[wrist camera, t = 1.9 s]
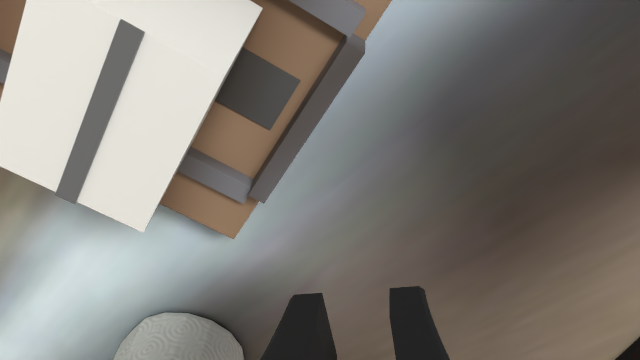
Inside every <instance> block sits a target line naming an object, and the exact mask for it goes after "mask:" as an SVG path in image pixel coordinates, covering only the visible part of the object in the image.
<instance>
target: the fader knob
mask: <svg viewBox="0 0 640 360" xmlns="http://www.w3.org/2000/svg"><path fill="white" fill-rule="evenodd" d="M262 9H263V8H262V7H260V6H259V5H257V4H255V3H254V2H252V1H250V0H26V4H25V8H24V12H23V16H22V20H21V23H20V27H19V31H18V35H17V39H16V43H15V47H14V50H13V54H12V58H11V62H10V66H9V70H8V73H7V77H6V81H5V85H4V89H3V93H2V97H1V100H0V166H1V167H3V168H5V169H7V170H9V171H12V172H14V173H16V174H18V175H20V176H22V177H24V178H27V179H29V180H31V181H33V182H35V183H37V184H40V185H42V186H44V187H46V188H48V189H50V190H52V191H55V192H56V194H55V195H56V196H58V197H60V198H63V199H65V200H67V201H69V202H71V203H73V204H75V203H76V202H78V203H80V204H83V205H85V206H87V207H89V208H91V209H93V210H95V211H98V212H100V213H102V214H104V215H106V216H108V217H111V218H113V219H115V220H117V221H119V222H121V223H123V224H126V225H128V226H130V227H132V228H134V229H136V230H138V231H141V232H144V230H145V228H146V227H147V225H148V223H149V221H150V219H151V217H152V216H153V214H154V212H155V210H156V208H157V206H158V205H159V203H160V201H161V199H162V197H163V195H164V194H165V192H166V190H167V188H168V186H169V184H170V183H171V181H172V179H173V177H174V175H175V173H176V172H177V170H178V168H179V166H180V164H181V163H182V161H183V159H184V157H185V155H186V153H187V152H188V150H189V148H190V146H191V144H192V142H193V141H194V139H195V137H196V135H197V133H198V131H199V129H200V127H201V125H202V123H203V122H204V120H205V118H206V116H207V114H208V112H209V110H210V108H211V106H212V104H213V102H214V101H215V99H216V97H217V95H218V93H219V91H220V89H221V87H222V85H223V83H224V81H225V80H226V78H227V76H228V74H229V72H230V70H231V68H232V66H233V64H234V62H235V60H236V59H237V57H238V55H239V53H240V51H241V49H242V47H243V45H244V43H245V41H246V39H247V38H248V36H249V34H250V32H251V30H252V28H253V26H254V24H255V22H256V20H257V18H258V17H259V15H260V13H261V11H262Z"/></svg>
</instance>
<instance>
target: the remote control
mask: <svg viewBox="0 0 640 360" xmlns="http://www.w3.org/2000/svg"><path fill="white" fill-rule="evenodd" d="M615 360H640V338H638V339H637V340H636V341H635V342H634V343H633V344H632V345H631V346H630V347H629V348H627V349H626V350H625V351H624V352H623V353H622V354H621V355H620V356H619V357H618V358H617V359H615Z"/></svg>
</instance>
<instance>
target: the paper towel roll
mask: <svg viewBox="0 0 640 360" xmlns="http://www.w3.org/2000/svg"><path fill="white" fill-rule="evenodd" d="M113 360H244V356H243V350H242V347H241V346H240V344H239V343H238V342H237V340H236V339H235V338H234V336H233V335H232V334H231V333H230V332H229V331H227V330H226V329H224V328H223V327H221V326H219V325H218V324H216V323H215V322H213V321H212V320H208V319H205V318H202V317H199V316H196V315H192V314H189V313H166V312H165V313H161V314H158V315H154V316H151V317H147V318H145V319H144V320H143V321H142V322H140V323H139V324H138V325H137V326H136V327H135V328H134V329H133V330H132V331H131V332H130V333H129V334H128V335H127V337H126V338H125V339H124V340H123V341H122V342H121V344H120V346H119V348H118V350H117V352H116V355H115V357H114V359H113Z"/></svg>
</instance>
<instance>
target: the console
mask: <svg viewBox="0 0 640 360" xmlns="http://www.w3.org/2000/svg"><path fill="white" fill-rule="evenodd" d="M250 1H252V2H254V3H255V4H257V5H259V6H260V7H262V8H263V9H262V11H261V13H260V15H259V17H258V18H257V20H256V22H255V24H254V26H253V28H252V30H251V32H250V34H249V36H248V38H247V39H246V41H245V43H244V45H243V47H242V49H241V51H240V53H239V55H238V57H237V59H236V60H235V62H234V64H233V66H232V68H231V70H230V72H229V74H228V76H227V78H226V80H225V81H224V83H223V85H222V87H221V89H220V91H219V93H218V95H217V97H216V99H215V101H214V102H213V104H212V106H211V108H210V110H209V112H208V114H207V116H206V118H205V120H204V122H203V123H202V125H201V127H200V129H199V131H198V133H197V135H196V137H195V139H194V141H193V142H192V144H191V146H190V148H189V150H188V152H187V153H186V155H185V157H184V159H183V161H182V163H181V164H180V166H179V168H178V170H177V172H176V173H175V175H174V177H173V179H172V181H171V183H170V184H169V186H168V188H167V190H166V192H165V194H164V195H163V197H162V199H161V201H160V204H162V205H164V206H166V207H168V208H170V209H172V210H174V211H176V212H178V213H180V214H183V215H185V216H187V217H189V218H191V219H193V220H195V221H197V222H199V223H201V224H203V225H205V226H207V227H210V228H212V229H214V230H216V231H218V232H220V233H222V234H224V235H226V236H228V237H230V238H232V239H234V238H235V237H236V235H237V234H238V232H239V231H240V229H241V228H242V226H243V225H244V223H245V222H246V220H247V219H248V217H249V216H250V214H251V213H252V211H253V209H254V208H255V206H256V205H257V203H258V202H259V201H260V202H262V203H265V201H266V200H267V198H268V197H269V195H270V194H271V192H272V191H273V189H274V188H275V186H276V185H277V183H278V182H279V180H280V179H281V177H282V176H283V174H284V173H285V171H286V170H287V168H288V167H289V165H290V164H291V162H292V161H293V159H294V158H295V156H296V155H297V153H298V152H299V150H300V149H301V148H302V146H303V145H304V143H305V142H306V140H307V139H308V137H309V136H310V134H311V133H312V131H313V130H314V128H315V127H316V125H317V124H318V122H319V121H320V119H321V118H322V116H323V115H324V113H325V112H326V110H327V109H328V107H329V106H330V104H331V103H332V101H333V100H334V98H335V97H336V95H337V94H338V92H339V91H340V89H341V88H342V86H343V85H344V83H345V82H346V80H347V79H348V77H349V76H350V74H351V73H352V71H353V70H354V68H355V67H356V65H357V64H358V62H359V61H360V59H361V58H362V57H363V55H364V54H365V40H366V39H367V37H368V36H369V34H370V33H371V31H372V30H373V28H374V26H375V25H376V23H377V22H378V20H379V19H380V17H381V16H382V14H383V13H384V11H385V10H386V8H387V7H388V5H389V4H390V2H391V1H392V0H250ZM25 4H26V0H0V100H1V97H2V93H3V89H4V85H5V81H6V77H7V73H8V70H9V66H10V62H11V58H12V54H13V50H14V47H15V43H16V39H17V35H18V31H19V27H20V23H21V20H22V16H23V12H24V8H25Z"/></svg>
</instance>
